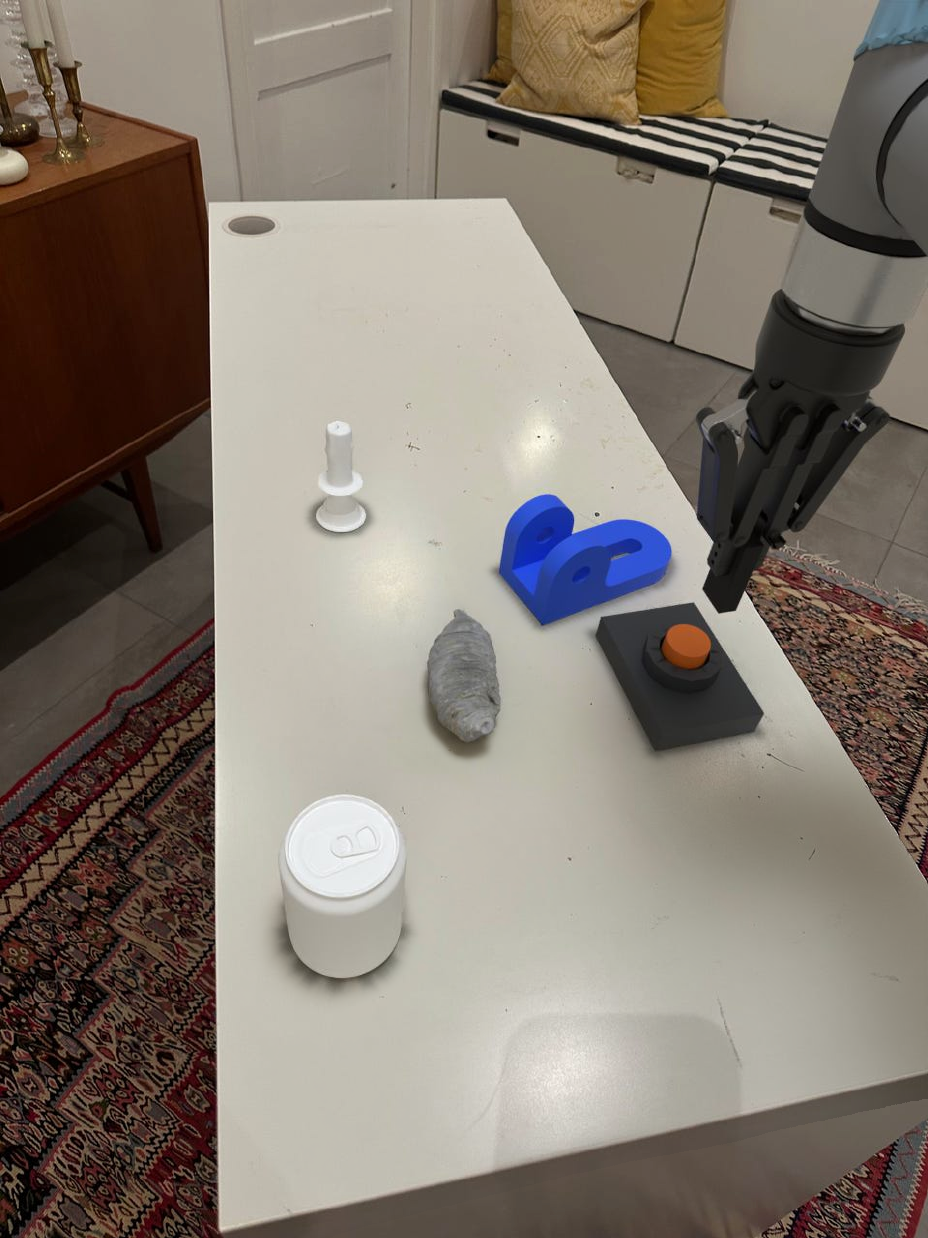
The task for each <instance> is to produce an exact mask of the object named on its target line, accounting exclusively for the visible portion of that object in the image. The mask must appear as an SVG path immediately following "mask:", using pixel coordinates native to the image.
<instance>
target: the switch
mask: <svg viewBox="0 0 928 1238" xmlns="http://www.w3.org/2000/svg"><path fill="white" fill-rule="evenodd" d="M710 648H711V642H710V639H709V637H708V636H707V635H706V633H705V632H703V631H702V630H701V629H699V628H697V627H695V626H692V625H688V624H679V625H675V626H673V627H671V628H670V629H669V630H668V632H667V634H666V637H665V640H664V642H663V645H662V653H663V655H664V657H665V658H666V660H667V661H668V662H670V663H671V664H673V665H674V666H676V667H679V668H683V669H687V670H691V669H696V668H698V667H700V666H702V665H703V663H704V662H705V660H706V657H707V655H708V653H709V651H710Z"/></svg>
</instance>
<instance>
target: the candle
mask: <svg viewBox="0 0 928 1238" xmlns="http://www.w3.org/2000/svg"><path fill="white" fill-rule="evenodd" d="M352 431H353V430H352V427H351V426H350V424H349V423H347V422H344V421H340V420H334V421H333V422H331V423H327V425H326V427H325V446H324V452H325V454H326V467H327V470H325V471H323V472H322V473H321V474H319V476H318V477H317V486H318V488H319V489H320V490H321V491H322V493H325V494H328V495H329V496H328V497H327V498H326V499H324V501H323V503H322V505H321V506H320V507H318V509H317V511H316V514H315V519H316V521H317V523H318V524H319V525H320V526H321V527H322V528H323V529H326V530H327V531H330V532H334V533H349V532H352V531H355V530H357V529H359V528H360V527H362V526H363V524H364V523H365V522H366V519H367V513H366V510H365V509H364V507H363V506H362V505H360V504H359V502H358V501H357V499H356V498H354V497H353V496H352V495H354V494H356V493H358V492H359V491H360V490H361V489H362V487H363V485H364V479H363V477H362V476H361V475H360V473H358V471H355V470H354V469H353V451H354V443H353V432H352Z"/></svg>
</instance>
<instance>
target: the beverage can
mask: <svg viewBox="0 0 928 1238" xmlns="http://www.w3.org/2000/svg"><path fill="white" fill-rule="evenodd" d="M407 851H408V850H407V844H406V841H405V837H404V834H403V832H402V830H401V828H400V826H399V825H398V823H397V822H396V820H395V819H394V818H393V816H391V815H390V814H389V812H388V811H387V810H386V809H385V808H384V807H383V806H381V804H379V803H377V802H375V801H373V800H371V799H369V798H368V797H363V796H361V795H356V794H346V793H345V794H344V793H343V794H335V795H329V796H326V797H323V798H321V799H318V800H316V801H314V802H312V803H311V804H309V805H308V806H306V807H305V808H304V809H302V810H301V811H300V813H298V814H297V816H296V817H295V818H294V819H293V821H292V822H291V824H290V825H289V827H288V829H287V830H286V831H285V833H284V835H283V838H282V841H281V843H280V846H279V852H278V870H279V871H278V872H279V878H280V885H281V891H282V898H283V905H284V910H285V917H286V923H287V924H286V925H287V932H288V936H289V940H290V944H291V947H292V948H293V950H294V952H295V954H296V956H297V957H298V958H299V959H300V961H301V962H302V963H303V964H304V965H305V966H307V967H308V968H309V969H310V970H312V971H314V972H316V973H318V974H319V975H323V976H325V977H329V978H336V979H346V978H347V979H348V978H355V977H358V976H361V975H364V974H367V973H369V972H371V971H373V970H374V969H376V968H377V967H380V965H381V964H382V963H384V962H385V961H386V960H387V959H388V957H390V955H392V952H393V951H394V949H395V948H396V946H397V944H398V942H399V939H400V937H401V936H400V935H401V932H402V925H403V914H404V899H405V887H406V886H405V885H406V874H407V873H406V872H407V871H406V870H407V856H408V853H407Z"/></svg>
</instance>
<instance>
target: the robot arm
mask: <svg viewBox="0 0 928 1238" xmlns="http://www.w3.org/2000/svg"><path fill="white" fill-rule="evenodd" d="M852 60H853V64H852V68H851V71H850V73H849V77H848V80H847V83H846V85H845V89H844V91H843V95H842V97H841V100H840V103H839V106H838V109H837V112H836V115H835V118H834V120H833V124H832V126H831V130H830V132H829V136H828V139H827V143H826V144H825V148H824V150H823V152H822V153H823V154H822V156H821V160H820V162H819V165H818V168H817V171H816V174H815V177H814V180H813V182H812V186H811V188H810V192H809V195H808V198H807V200H806V202H805V205H804V208H803V209H802V212H801V216H800V217H799V218H800V219H799V222H798V224H797V227H796V230H795V232H794V235H793V238H792V241H791V243H790V247H789V250H788V253H787V255H786V258H785V261H784V264H783V266H782V269H781V272H780V275H779V282H778V283H779V287H780V289H778V290H777V291H776V292H774V293H773V295H772V297H771V300H770V302H769V305H768V307H767V311H766V314H765V317H764V319H763V322H762V325H761V327H760V330H759V333H758V336H757V339H756V341H755V342H756V343H755V350H754V353H755V354H754V366H753V370H752V371H751V373H750V375H749V376H748V378H747V379H746V380H745V381H744V383H743V384H742V385H741V386H740V388H739V390H738V392H737V399H736V400H735V401H733V402H732V403H729V404H728V405H727V406H724V407H723V408H722V409H720V410H718V411H715V409H713V408H712V407H710V406H707V407H703V408H702V409H700V410H699V411H698V413H696V415H695V422H696V424H697V426H698V429H699V432H700V434H701V437H702V446H701V447H702V448H701V458H700V472H699V482H698V494H697V495H698V496H697V508H696V520H697V521H698V523H699V524H700V526H701V527H702V528H703V530H704V532H706V534H707V536H708V537H709V538H710V540H711V541H712V545H711V549H710V551H709V553H708V556H707V558H706V565H708V567H709V570H708V573H707V575H706V578H705V580H704V583H703V584H702V585H703V586H702V588H701V590H702V591H703V593H704V594H705V596H706V597H707V599H708V600H709V602H710V603H711V605H712V606H713V608H714V609H715V611H716V612H717V614H719V615H720V614H726V613H732V612H736V611H737V610H738V607H739V605H740V602H741V600H742V598H743V596H744V593H745V591H746V589H747V587H748V584H749V582H750V580H751V578H752V575H753V573H754V572H756V571H758V570H759V569H760V568H761V566H762V565H763V563H764V561H765V559H766V558H767V557H766V556H767V555H768V553H769V550H770V548H771V549H772V550H774V551H777V550H780V549H782V548H783V547H784V546H785V545H786V544H787V541H786V539H785V538H784V537H783V535H782V534H783V533H784V532H786V531H789V530H790V531H791V532H792V533H798V532H801V531H802V530H804V529H805V528H806V527H807V525H808V524H809V522H810V521H811V520H812V519H813V517H814V516H815V514H816V513H817V511H818V510H819V508H820V507H821V506H822V504H823V503H824V501H825V500H826V498H827V497H828V496H829V494H830V493H831V492H832V491H833V489H834V488H835V486H836V485H837V483H838V482H839V481H840V480H841V478H842V477H843V475H844V474H845V472H846V471H847V470H848V469H849V467H850V466H851V464H852V463H853V461H854V460H855V458H856V457H857V456H858V455H859V453H860V451H861V450H862V449H863V447H864V446H865V445H866V444H867V443H868V442H869V441H870V440H872V438H874V437H875V436H876V435H877V434H878V433H879V432H880V431H881V430H882V429H883V428H884V427H885V426H886V425H887V424H888V423H889V421H890V420H891V414H890V413H889V412H888V411H887V410H886V409H884V408H883V406H881V405H880V404H879V403H878V402H877V401H876V400H875V399H874V398H873V397H872V396H870V394H871V391H872V390H874V389H875V388H876V387H878V386H879V385H880V383H881V382H882V381H883V379H884V377H885V376H886V373H887V371H888V369H889V367H890V365H891V363H892V361H893V358H894V356H895V355H896V352H897V350H898V348H899V347H900V344H901V342H902V340H903V337H904V335H905V334H906V327H905V324H906V323H907V322H908V321H910V320H912V319H913V318H914V316H915V315H916V312H917V310H918V308H919V306H920V303H921V301H922V299H923V297H924V294H925V292H926V291H927V289H928V0H878V3H877V6H876V8H875V10H874V13H873V15H872V17H871V19H870V22H869V24H868V27H867V29H866V32H865V35H864V36H863V39H862V42H861V43H859V45H858V46H857V47H856V49H855V52H854V54H853V57H852ZM745 423H746V429H745V431H744V434H743V436H742V433H743V426H744V424H745ZM742 442H743V446H744V447H743V450H742V453H741V456H740V457H739V450H738V446H737V445H740V444H742ZM796 504H797V505H798V508H797V507H796Z"/></svg>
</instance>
